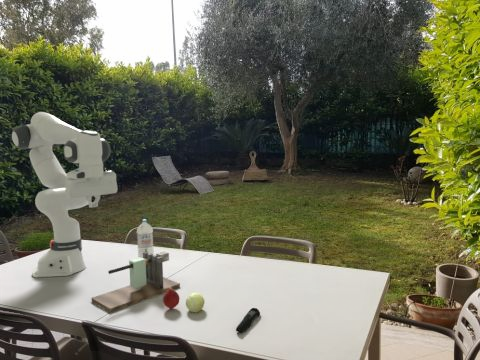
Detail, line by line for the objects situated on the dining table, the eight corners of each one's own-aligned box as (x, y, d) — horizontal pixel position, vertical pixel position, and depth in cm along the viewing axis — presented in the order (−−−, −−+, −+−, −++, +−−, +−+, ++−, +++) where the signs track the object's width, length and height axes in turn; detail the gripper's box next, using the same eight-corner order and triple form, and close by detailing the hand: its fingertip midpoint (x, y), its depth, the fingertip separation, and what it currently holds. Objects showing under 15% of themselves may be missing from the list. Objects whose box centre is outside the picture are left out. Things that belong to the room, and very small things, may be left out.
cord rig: (110, 312, 140) (108, 274, 139) (91, 301, 150) (89, 265, 148) (179, 287, 163) (178, 253, 161) (159, 278, 172) (158, 247, 171)
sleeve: (135, 288, 153) (134, 262, 152) (130, 286, 156) (129, 260, 154) (146, 284, 157) (145, 259, 156) (141, 282, 159) (140, 257, 158)
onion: (182, 306, 144) (181, 285, 143) (174, 313, 139) (174, 291, 138) (168, 304, 146) (167, 283, 145) (160, 311, 141) (159, 289, 140)
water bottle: (156, 272, 181) (154, 218, 178) (151, 277, 174) (149, 221, 171) (141, 271, 182) (139, 218, 179) (136, 277, 175) (134, 221, 172)
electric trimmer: (232, 335, 125) (232, 325, 124) (251, 313, 139) (250, 304, 139) (243, 337, 123) (243, 327, 123) (261, 315, 138) (261, 306, 137)
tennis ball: (196, 287, 145) (182, 293, 140) (209, 294, 141) (195, 300, 136) (194, 303, 146) (181, 309, 141) (207, 311, 142) (194, 317, 137)
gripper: (111, 169, 166) (113, 202, 167) (62, 174, 151) (64, 209, 152) (119, 170, 161) (121, 204, 163) (69, 175, 146) (71, 212, 148)
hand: (93, 207), depth 158 cm, fingers closed
